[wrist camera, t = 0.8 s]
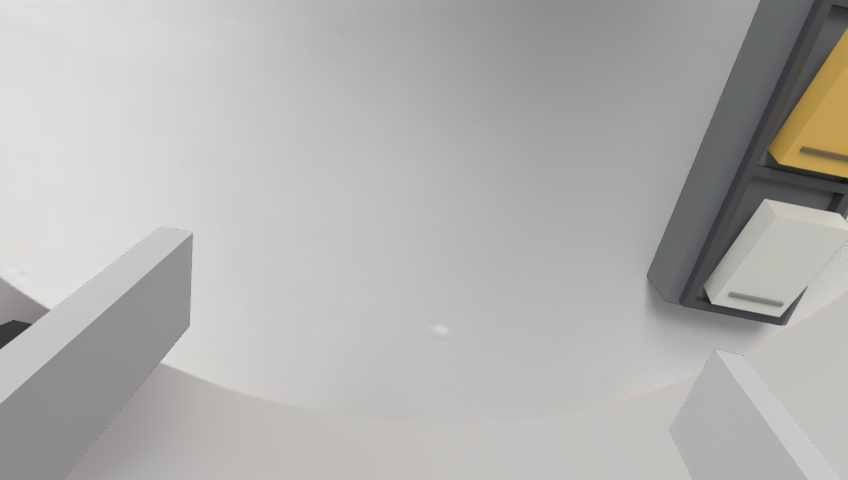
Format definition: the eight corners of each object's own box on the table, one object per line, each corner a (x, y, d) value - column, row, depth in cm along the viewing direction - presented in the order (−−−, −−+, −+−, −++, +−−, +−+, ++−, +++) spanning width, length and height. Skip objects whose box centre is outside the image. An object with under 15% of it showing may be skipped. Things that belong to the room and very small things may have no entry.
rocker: (764, 198, 33) (778, 217, 31) (839, 213, 33) (857, 233, 31) (703, 285, 37) (712, 305, 36) (769, 298, 37) (780, 319, 36)
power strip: (878, -283, 28) (956, -337, 23) (1041, -247, 28) (1149, -293, 24) (646, 275, 42) (668, 307, 37) (757, 297, 42) (791, 331, 38)
